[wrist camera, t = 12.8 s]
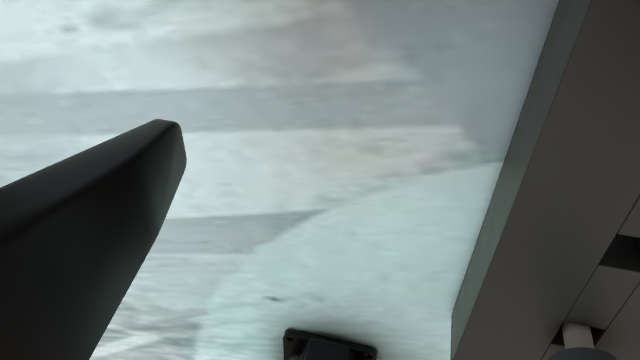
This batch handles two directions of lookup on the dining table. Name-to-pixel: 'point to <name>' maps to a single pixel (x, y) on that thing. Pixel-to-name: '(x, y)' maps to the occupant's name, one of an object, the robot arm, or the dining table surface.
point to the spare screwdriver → (579, 345)
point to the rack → (564, 201)
